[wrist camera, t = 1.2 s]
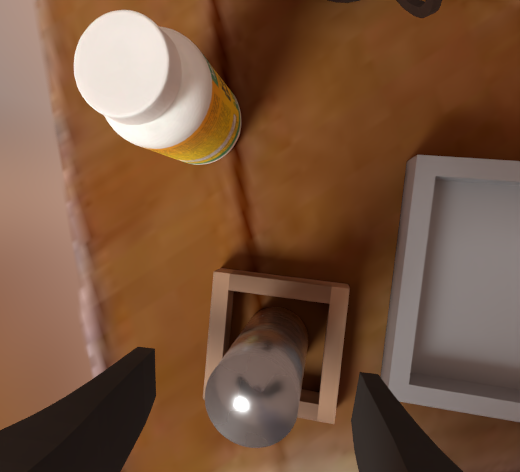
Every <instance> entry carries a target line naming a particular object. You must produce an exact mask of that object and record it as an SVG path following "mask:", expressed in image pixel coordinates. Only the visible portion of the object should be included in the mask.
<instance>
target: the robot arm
mask: <svg viewBox="0 0 520 472" xmlns="http://www.w3.org/2000/svg"><path fill="white" fill-rule="evenodd" d="M155 397H156V381H155V349H152V348H143V347H137V348H136V349H134V350H133V351H131V352H130V353H129V354H127V355H126V356H124V357H123V358H122V359H120V360H119V361H118V362H116V363H115V364H113V365H112V366H111V367H109V368H108V369H106V370H105V371H104V372H102V373H101V374H99V375H98V376H96V377H95V378H94V379H92V380H91V381H89V382H88V383H86V384H84V385H83V386H82V387H80V388H78V389H77V390H75V391H74V392H72V393H71V394H69V395H67V396H66V397H64V398H62V399H61V400H59V401H57V402H56V403H54V404H52V405H50V406H49V407H47V408H45V409H43V410H41V411H39V412H37V413H36V414H34V415H32V416H30V417H28V418H26V419H24V420H21V421H19V422H17V423H15V424H13V425H11V426H9V427H6V428H4V429H2V430H0V472H120V471H121V469H122V467H123V466H124V464H125V462H126V460H127V458H128V456H129V454H130V452H131V450H132V449H133V447H134V445H135V443H136V441H137V439H138V437H139V435H140V433H141V431H142V429H143V427H144V425H145V423H146V421H147V418H148V416H149V413H150V411H151V408H152V405H153V403H154V400H155ZM351 422H352V432H353V442H354V450H355V455H356V460H357V465H358V469H359V472H463V471H462V470H461V469H460V468H459V467H458V466H457V465H456V464H455V463H454V462H452V461H451V460H450V459H449V458H448V457H447V456H446V455H445V454H444V453H443V452H442V451H441V450H440V449H439V448H438V447H437V446H436V444H435V443H434V442H433V441H432V440H431V439H430V438H429V437H428V436H427V435H426V434H425V432H424V431H423V430H422V429H421V428H420V427H419V426H418V424H417V423H416V422H415V421H414V420H413V418H412V417H411V416H410V415H409V414H408V412H407V411H406V410H405V409H404V407H403V406H402V405H401V404H400V402H399V401H398V400H397V398H396V397H395V396H394V394H393V393H392V392H391V391H390V389H389V388H388V387H387V385H386V384H385V383H384V381H383V380H382V379H381V377H380V376H379V375H378V374H371V373H362V372H360V374H359V380H358V385H357V391H356V397H355V402H354V408H353V414H352V419H351Z"/></svg>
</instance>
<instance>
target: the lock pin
mask: <svg viewBox="0 0 520 472" xmlns="http://www.w3.org/2000/svg"><path fill="white" fill-rule="evenodd" d="M307 348H308V333H307V329H306V327H305V325H304V323H303V321H302V320H301V319H300V318H299V317H298V316H297V315H296V314H295V313H293V312H292V311H290V310H288V309H285V308H282V307H269V308H265V309H263V310H260V311H259V312H257V313H256V314H255V315H254V316H253V317H252V318H251V320H250V321H249V322H248V324H247V325H246V326H245V328H244V329H243V331H242V332H241V333H240V335H239V336H238V337H237V339H236V340H235V342H234V343H233V344H232V346H231V347H230V348H229V350H228V351H227V353H226V354H225V355H224V357H223V358H222V359H221V361H220V362H219V364H218V365H217V366H216V368H215V369H214V370H213V372H212V373H211V375H210V377H209V379H208V381H207V385H206V389H205V405H206V409H207V412H208V415H209V417H210V419H211V421H212V423H213V424H214V426H215V427H216V428H217V430H218V431H219V432H220V433H221V434H222V435H223V436H225V437H226V438H227V439H229V440H230V441H232V442H234V443H236V444H239V445H242V446H245V447H251V448H261V447H266V446H270V445H273V444H275V443H277V442H279V441H280V440H282V439H283V438H284V437H285V436H286V435H287V434H288V433H289V432H290V431H291V429H292V428H293V426H294V424H295V421H296V418H297V414H298V408H299V402H300V395H301V388H302V381H303V375H304V368H305V361H306V354H307Z"/></svg>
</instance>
